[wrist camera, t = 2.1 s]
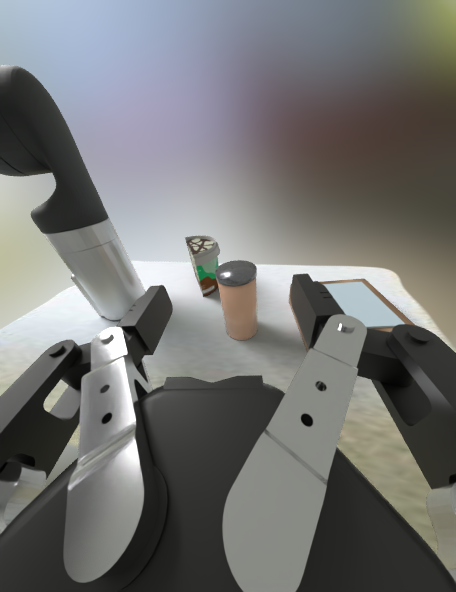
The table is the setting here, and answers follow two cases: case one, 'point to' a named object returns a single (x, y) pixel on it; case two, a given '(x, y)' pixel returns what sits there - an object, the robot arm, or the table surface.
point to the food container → (204, 261)
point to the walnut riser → (363, 305)
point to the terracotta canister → (238, 298)
